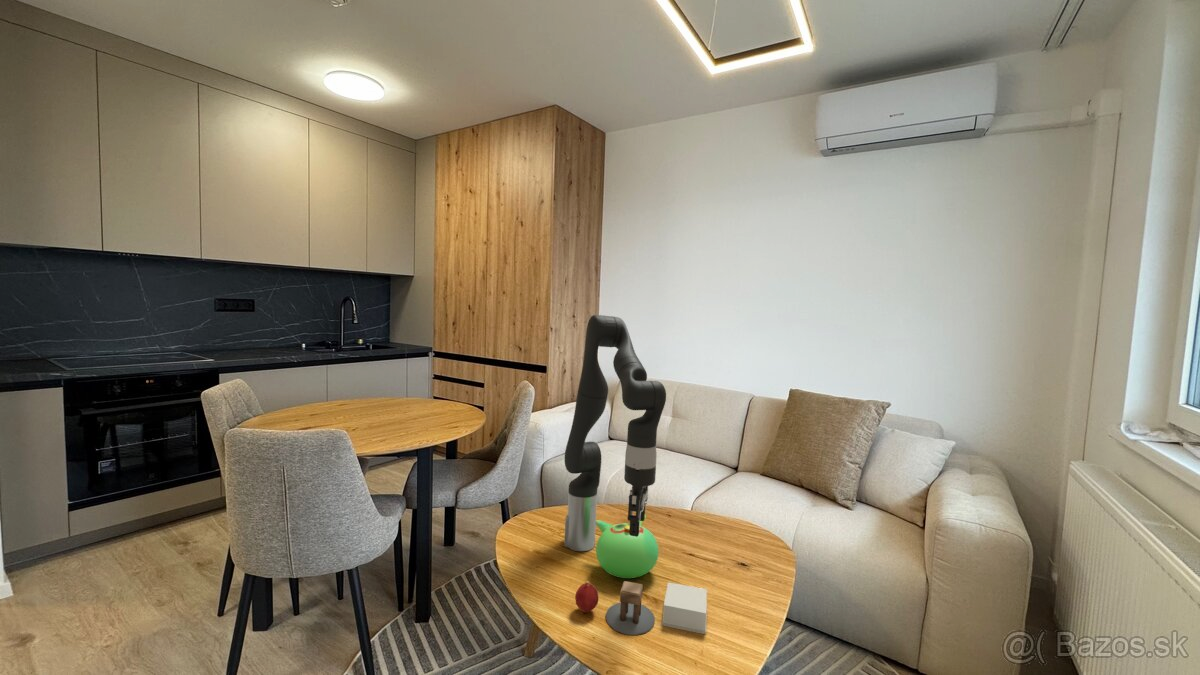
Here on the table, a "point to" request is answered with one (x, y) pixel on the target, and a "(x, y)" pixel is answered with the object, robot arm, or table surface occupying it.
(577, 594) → the onion
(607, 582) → the table surface
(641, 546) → the toy bird
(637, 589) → the walnut stool
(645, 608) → the charcoal felt mat
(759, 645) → the table surface
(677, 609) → the white square box
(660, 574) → the table surface
